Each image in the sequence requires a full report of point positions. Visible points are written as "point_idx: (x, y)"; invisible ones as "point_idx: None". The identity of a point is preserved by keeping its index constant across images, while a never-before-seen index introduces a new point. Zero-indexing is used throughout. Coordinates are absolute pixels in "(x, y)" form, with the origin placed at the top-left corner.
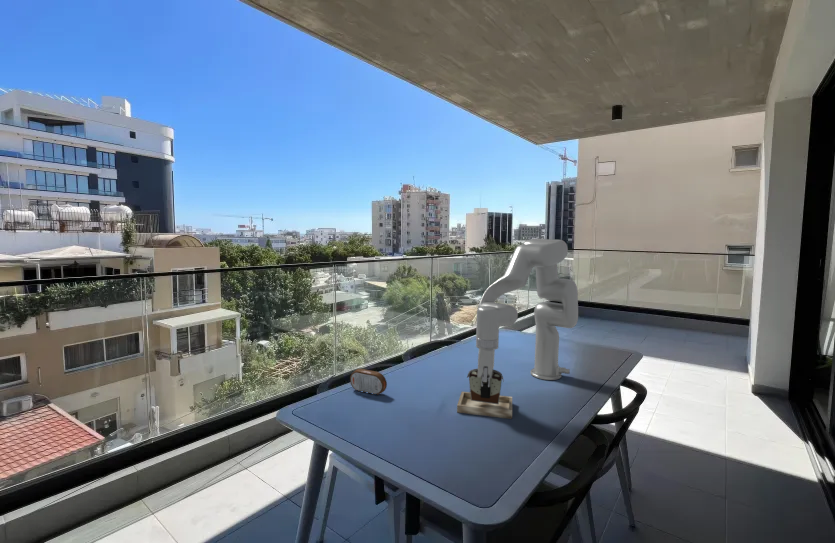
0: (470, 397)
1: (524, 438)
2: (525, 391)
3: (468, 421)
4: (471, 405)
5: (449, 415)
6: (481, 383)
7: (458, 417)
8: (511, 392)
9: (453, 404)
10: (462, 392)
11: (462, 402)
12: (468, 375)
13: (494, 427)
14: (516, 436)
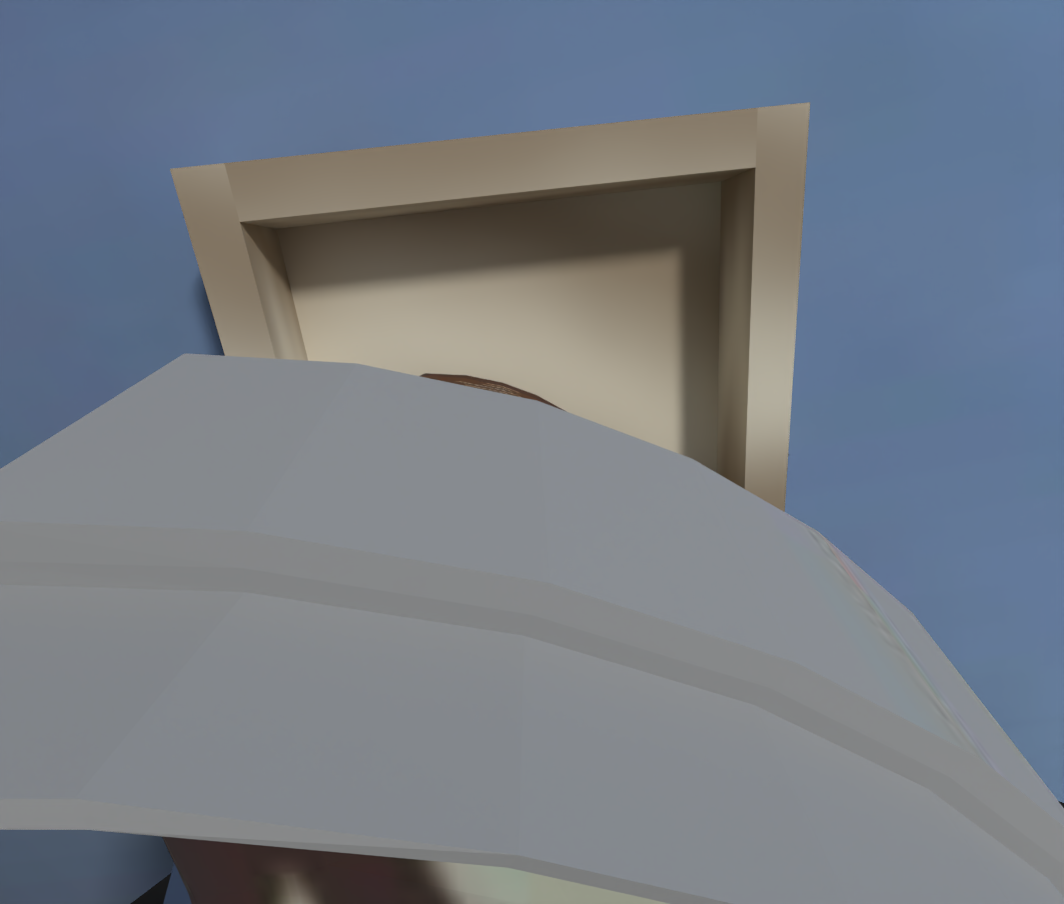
0: (722, 290)
1: (87, 881)
2: (1052, 785)
3: (79, 402)
4: (472, 359)
5: (80, 94)
6: (167, 897)
7: (103, 249)
8: (1019, 684)
9: (480, 56)
10: (764, 130)
11: (521, 203)
12: (327, 436)
13: None
14: (79, 835)
